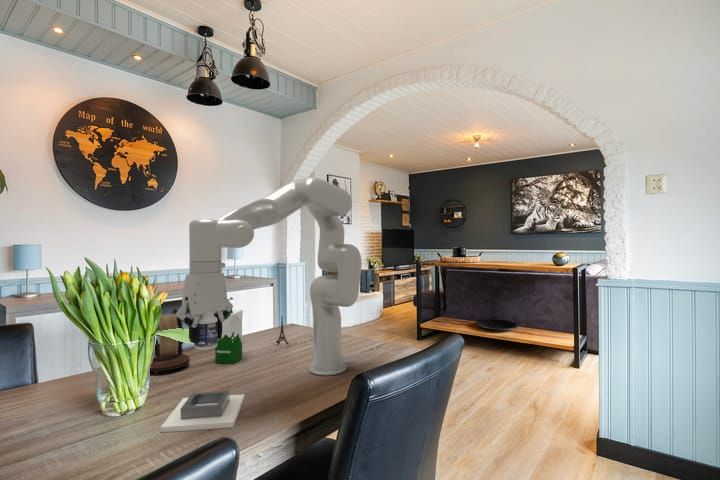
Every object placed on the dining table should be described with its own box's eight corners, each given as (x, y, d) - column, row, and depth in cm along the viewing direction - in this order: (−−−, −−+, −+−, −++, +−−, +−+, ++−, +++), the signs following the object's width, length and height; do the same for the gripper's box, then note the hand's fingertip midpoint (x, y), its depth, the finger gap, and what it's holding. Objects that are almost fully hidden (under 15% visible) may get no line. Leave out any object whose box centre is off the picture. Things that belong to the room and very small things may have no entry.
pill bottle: (209, 350, 92) (209, 310, 92) (189, 349, 93) (189, 310, 93) (221, 344, 97) (221, 307, 97) (203, 343, 98) (203, 306, 98)
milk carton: (211, 364, 133) (211, 307, 133) (223, 356, 142) (223, 303, 142) (235, 364, 132) (235, 308, 132) (245, 356, 141) (245, 303, 141)
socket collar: (229, 400, 100) (229, 390, 100) (221, 416, 91) (221, 406, 91) (192, 402, 99) (192, 393, 99) (180, 419, 90) (180, 408, 90)
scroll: (150, 379, 119) (150, 316, 119) (135, 368, 129) (134, 310, 129) (196, 367, 130) (196, 309, 130) (179, 358, 140) (178, 304, 140)
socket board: (244, 398, 104) (244, 394, 104) (233, 427, 88) (233, 422, 88) (183, 402, 102) (183, 398, 102) (160, 432, 86) (160, 427, 86)
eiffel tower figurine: (304, 344, 159) (304, 313, 159) (290, 350, 150) (289, 317, 150) (276, 340, 166) (276, 310, 166) (261, 346, 157) (260, 314, 157)
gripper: (227, 265, 104) (227, 331, 104) (163, 269, 90) (164, 345, 90) (243, 266, 99) (244, 335, 99) (179, 271, 86) (180, 350, 86)
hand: (206, 339), depth 95 cm, fingers closed on pill bottle, 5 cm apart
